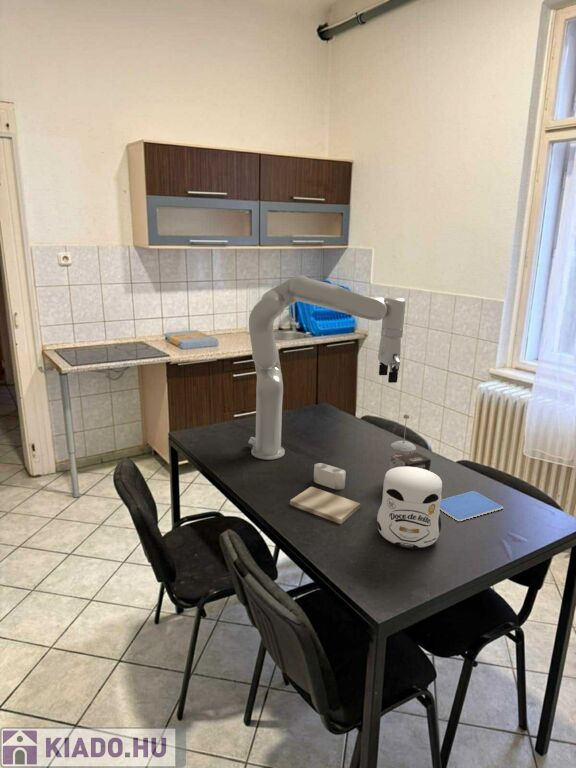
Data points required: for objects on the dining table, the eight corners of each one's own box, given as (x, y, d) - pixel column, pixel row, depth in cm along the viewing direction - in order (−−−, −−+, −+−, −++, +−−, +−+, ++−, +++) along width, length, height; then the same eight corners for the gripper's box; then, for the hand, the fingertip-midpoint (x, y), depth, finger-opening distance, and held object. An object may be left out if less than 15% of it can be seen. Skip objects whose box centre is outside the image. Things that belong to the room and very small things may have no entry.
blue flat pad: (458, 524, 159) (459, 520, 158) (429, 505, 169) (429, 501, 169) (504, 511, 168) (504, 507, 167) (473, 493, 178) (474, 489, 178)
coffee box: (402, 513, 163) (408, 464, 159) (389, 503, 169) (394, 456, 164) (426, 507, 167) (431, 459, 163) (412, 497, 173) (417, 451, 168)
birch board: (289, 504, 166) (290, 500, 165) (310, 490, 175) (311, 486, 175) (340, 524, 156) (340, 519, 155) (360, 507, 165) (360, 503, 165)
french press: (379, 483, 182) (385, 413, 175) (397, 473, 190) (404, 406, 183) (404, 493, 175) (412, 421, 168) (422, 482, 183) (430, 413, 176)
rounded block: (311, 481, 182) (311, 466, 180) (317, 476, 185) (318, 462, 184) (340, 491, 175) (341, 475, 174) (346, 486, 179) (348, 471, 177)
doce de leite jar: (399, 560, 140) (405, 498, 135) (364, 526, 155) (369, 469, 150) (452, 546, 146) (460, 487, 141) (413, 516, 162) (420, 461, 157)
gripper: (373, 328, 199) (370, 372, 204) (390, 337, 183) (386, 385, 187) (392, 328, 200) (388, 372, 205) (411, 337, 184) (406, 385, 189)
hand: (387, 378), depth 196 cm, fingers open, 9 cm apart
